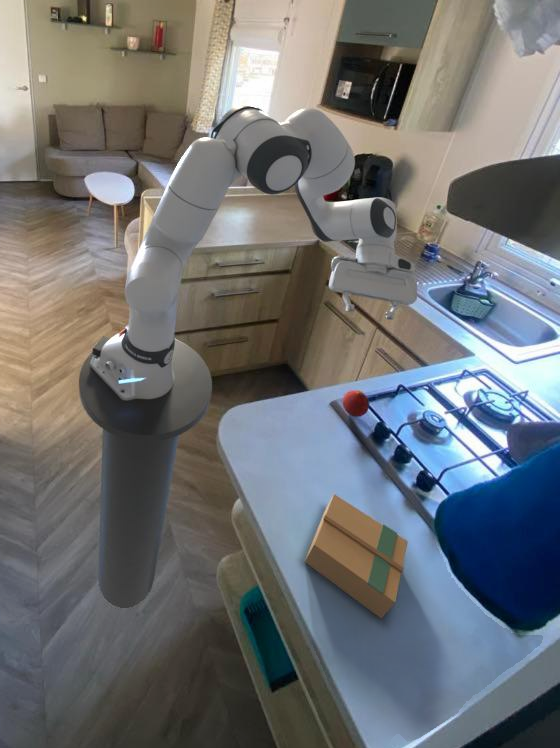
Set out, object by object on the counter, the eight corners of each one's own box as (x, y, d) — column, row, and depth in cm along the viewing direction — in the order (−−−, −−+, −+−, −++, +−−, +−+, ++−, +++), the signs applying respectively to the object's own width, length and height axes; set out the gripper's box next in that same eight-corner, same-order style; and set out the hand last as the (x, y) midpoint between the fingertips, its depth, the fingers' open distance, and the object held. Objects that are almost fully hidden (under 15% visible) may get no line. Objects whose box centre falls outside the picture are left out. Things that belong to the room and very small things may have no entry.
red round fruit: (360, 407, 105) (371, 384, 101) (365, 426, 100) (377, 403, 96) (336, 401, 105) (346, 379, 101) (340, 420, 100) (351, 397, 96)
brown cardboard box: (303, 562, 73) (313, 543, 70) (324, 510, 82) (333, 492, 78) (381, 620, 67) (396, 603, 64) (395, 558, 76) (409, 540, 72)
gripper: (336, 250, 104) (329, 305, 101) (422, 266, 102) (418, 322, 99) (328, 257, 110) (322, 309, 107) (409, 271, 108) (406, 325, 105)
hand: (369, 315), depth 103 cm, fingers open, 8 cm apart
